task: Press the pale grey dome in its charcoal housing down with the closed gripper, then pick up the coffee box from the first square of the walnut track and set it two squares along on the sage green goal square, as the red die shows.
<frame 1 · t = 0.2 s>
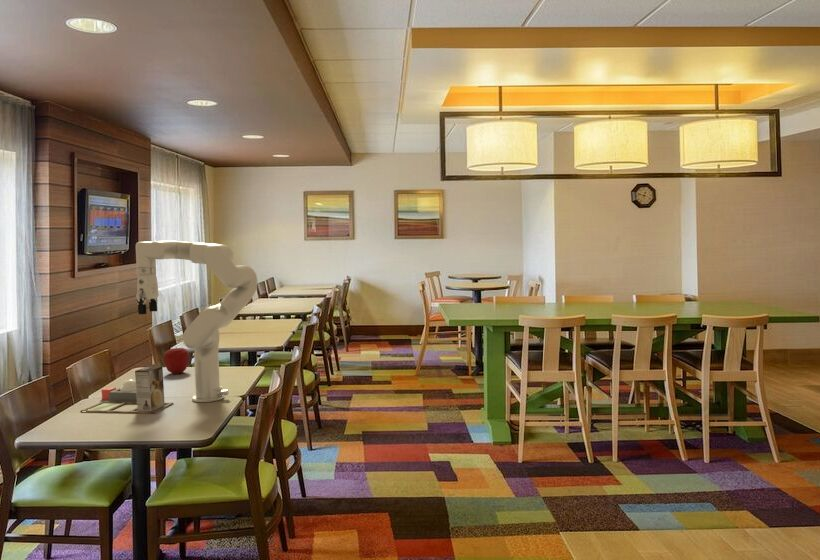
hand: (148, 312, 271), 36 cm above the table, tool pointing down, fingers open, 9 cm apart
apple: (177, 373, 324), on the table
coffee box: (151, 409, 257), resting in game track
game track: (127, 408, 258), on the table
dome housing: (131, 398, 274), on the table
red die: (109, 397, 276), on the table
dome: (130, 386, 274), point 5 cm above the table, slide at 0.0 cm
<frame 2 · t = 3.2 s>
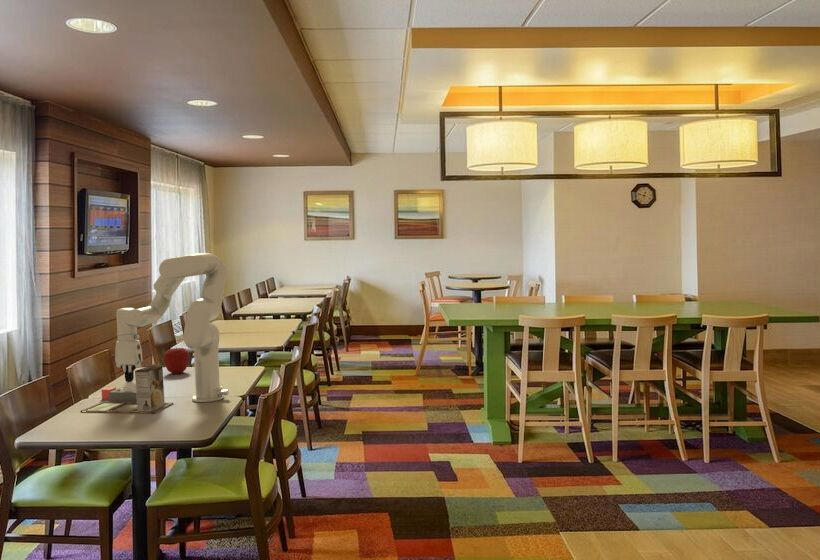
hand: (129, 380, 274), 7 cm above the table, tool pointing down, fingers closed
dome: (130, 388, 274), point 4 cm above the table, slide at 0.7 cm, touching gripper
everything else where it was.
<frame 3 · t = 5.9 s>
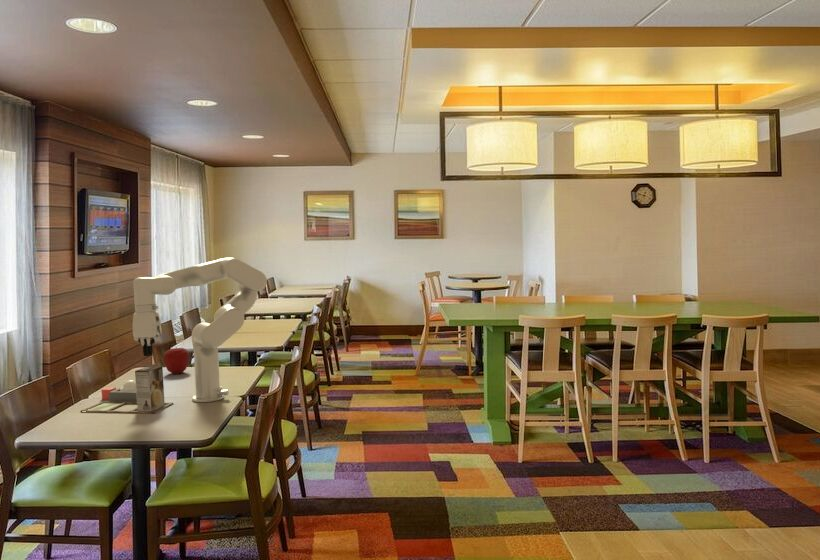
hand: (148, 355, 256), 21 cm above the table, tool pointing down, fingers closed
dome: (130, 387, 274), point 5 cm above the table, slide at 0.3 cm
everything else where it was.
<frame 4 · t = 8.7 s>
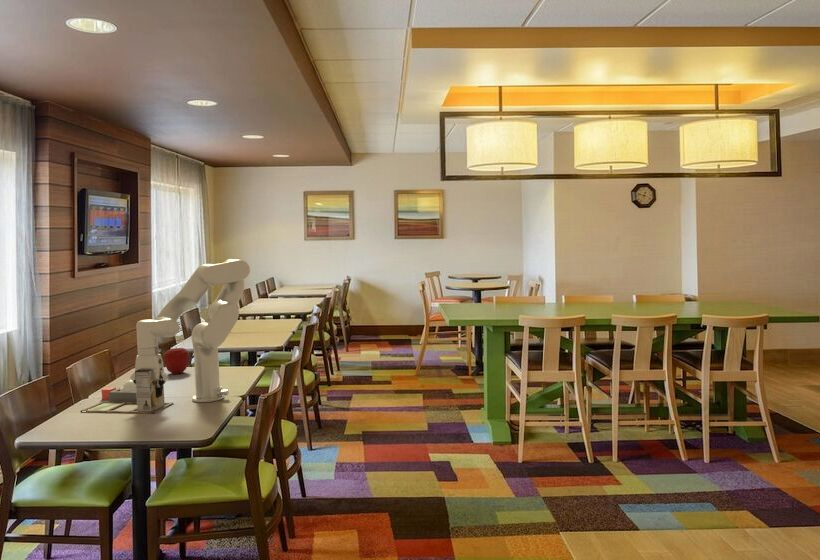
hand: (150, 396, 256), 5 cm above the table, tool pointing down, fingers closed on coffee box, 6 cm apart
coffee box: (151, 409, 257), resting in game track, touching gripper
everything else where it was.
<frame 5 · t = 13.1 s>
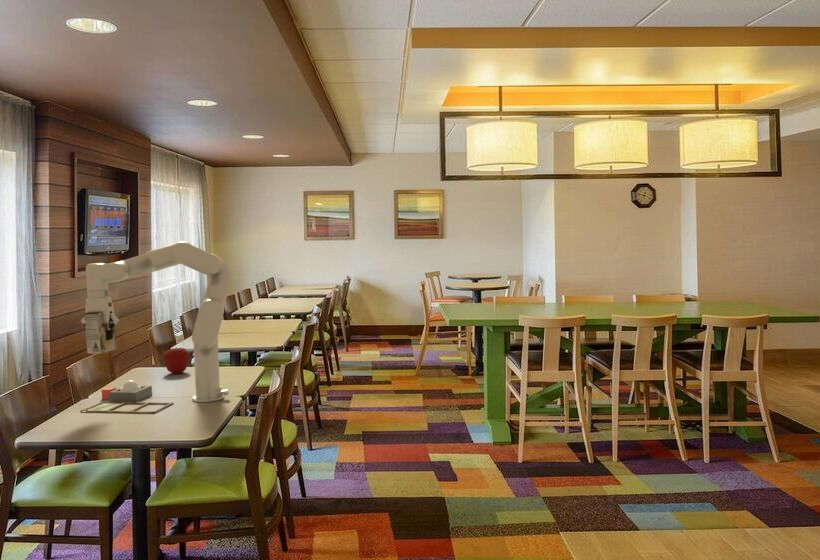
hand: (101, 339, 258), 27 cm above the table, tool pointing down, fingers closed on coffee box, 6 cm apart
coffee box: (101, 352, 258), point 22 cm above the table, touching gripper
everything else where it was.
when the fingers open (6 cm above the table, at t = 17.5 s): coffee box drops 1 cm, resting on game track.
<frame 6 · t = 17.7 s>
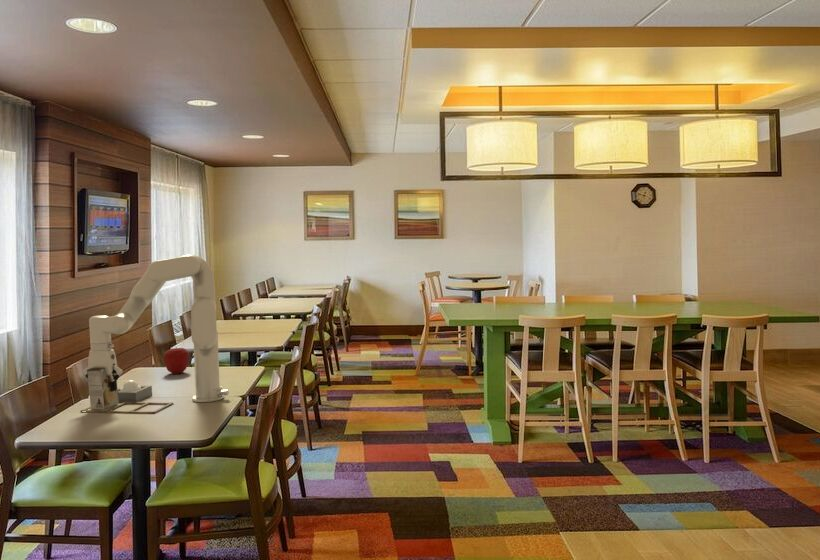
hand: (103, 390, 259), 7 cm above the table, tool pointing down, fingers open, 8 cm apart
coffee box: (105, 407, 260), resting on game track
everything else where it was.
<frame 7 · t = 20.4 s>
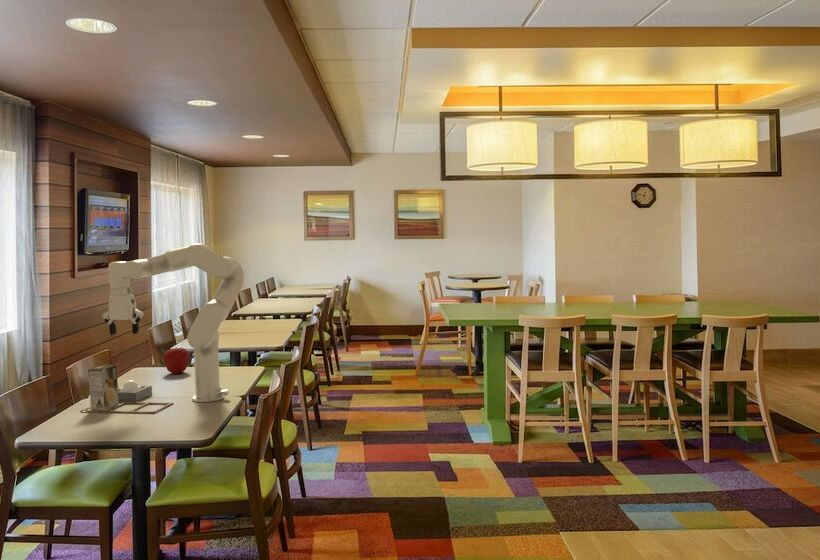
hand: (124, 333, 266), 28 cm above the table, tool pointing down, fingers open, 9 cm apart
nothing on the table moved.
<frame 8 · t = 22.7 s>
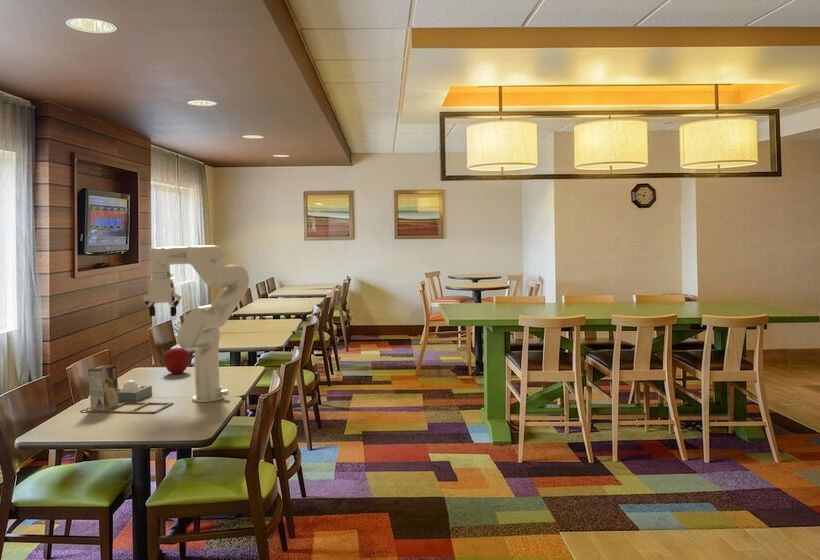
hand: (163, 316, 281), 33 cm above the table, tool pointing down, fingers open, 9 cm apart
nothing on the table moved.
at the end: coffee box inside the target area (0.2 cm from its centre), resting on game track; coffee box tilted 0°; the gripper is holding nothing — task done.
